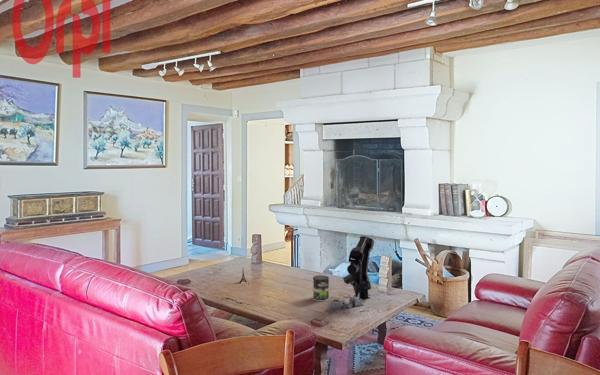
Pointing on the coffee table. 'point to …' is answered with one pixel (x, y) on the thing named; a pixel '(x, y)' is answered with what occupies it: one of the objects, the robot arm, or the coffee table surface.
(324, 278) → the coffee can
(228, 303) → the coffee table surface
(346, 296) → the cartridge
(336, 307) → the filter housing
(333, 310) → the rubber pad
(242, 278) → the eiffel tower figurine
